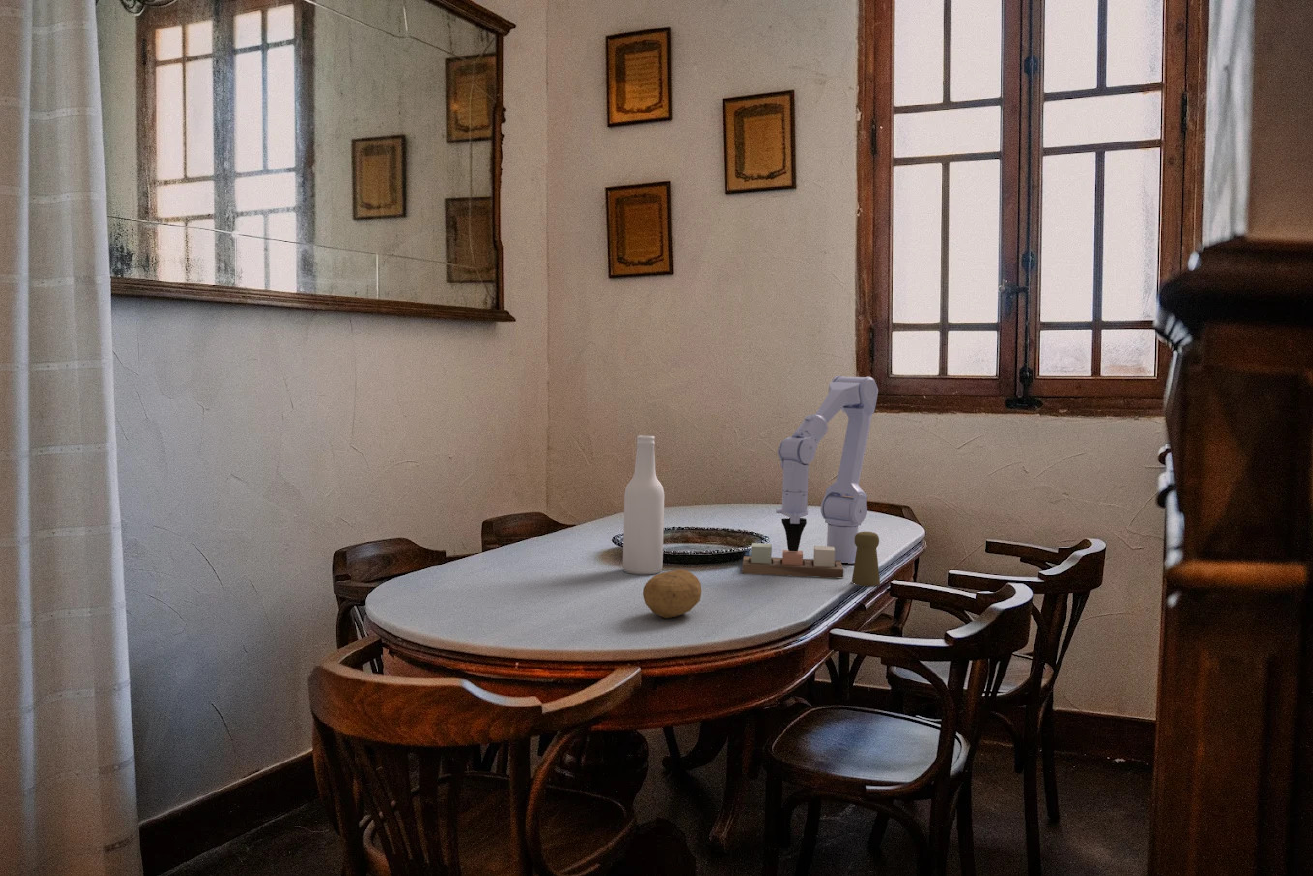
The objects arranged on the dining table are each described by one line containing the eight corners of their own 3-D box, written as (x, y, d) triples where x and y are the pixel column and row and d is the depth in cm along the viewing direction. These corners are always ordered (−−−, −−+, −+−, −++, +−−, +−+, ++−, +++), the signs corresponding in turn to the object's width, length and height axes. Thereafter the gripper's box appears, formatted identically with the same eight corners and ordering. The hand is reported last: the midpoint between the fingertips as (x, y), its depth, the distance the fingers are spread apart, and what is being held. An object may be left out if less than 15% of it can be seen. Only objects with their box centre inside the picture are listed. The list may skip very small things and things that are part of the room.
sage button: (751, 560, 235) (751, 543, 235) (771, 561, 235) (771, 544, 235) (750, 564, 231) (751, 546, 231) (771, 565, 230) (771, 547, 230)
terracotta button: (781, 567, 235) (782, 549, 234) (801, 568, 234) (802, 550, 234) (782, 571, 230) (782, 553, 230) (802, 572, 230) (803, 554, 230)
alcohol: (662, 575, 224) (666, 437, 221) (622, 574, 224) (625, 436, 221) (662, 567, 232) (665, 435, 230) (623, 566, 232) (626, 434, 230)
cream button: (813, 563, 234) (813, 545, 234) (833, 564, 233) (834, 546, 233) (814, 567, 229) (814, 549, 229) (834, 568, 229) (835, 550, 229)
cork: (866, 587, 218) (867, 535, 216) (845, 582, 222) (846, 531, 221) (886, 583, 221) (887, 532, 220) (865, 578, 226) (866, 528, 225)
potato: (627, 620, 185) (628, 576, 184) (665, 605, 197) (667, 564, 196) (674, 628, 180) (676, 583, 179) (711, 612, 192) (712, 570, 191)
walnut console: (743, 564, 238) (744, 556, 238) (840, 569, 236) (840, 560, 236) (742, 573, 229) (742, 564, 228) (843, 578, 226) (843, 569, 226)
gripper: (776, 486, 239) (774, 544, 240) (777, 494, 224) (775, 555, 225) (807, 487, 238) (805, 545, 239) (810, 495, 223) (807, 557, 224)
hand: (792, 550), depth 232 cm, fingers closed
